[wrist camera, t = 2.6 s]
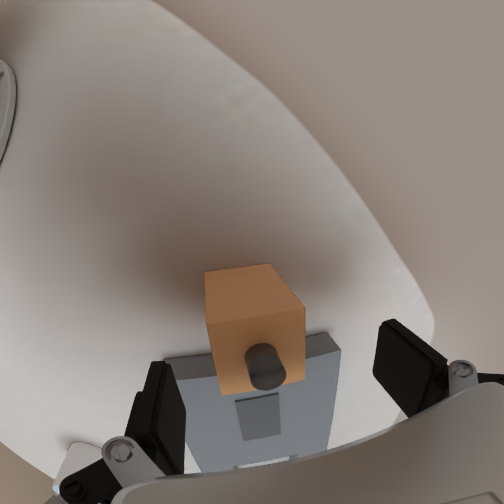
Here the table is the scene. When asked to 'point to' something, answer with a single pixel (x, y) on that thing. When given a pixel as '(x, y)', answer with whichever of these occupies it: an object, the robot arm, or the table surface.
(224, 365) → the block
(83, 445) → the white short cylinder
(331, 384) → the socket plate
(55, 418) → the table surface
